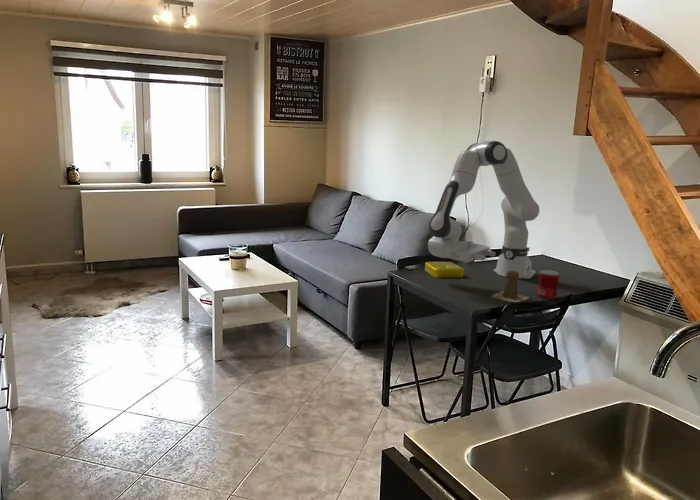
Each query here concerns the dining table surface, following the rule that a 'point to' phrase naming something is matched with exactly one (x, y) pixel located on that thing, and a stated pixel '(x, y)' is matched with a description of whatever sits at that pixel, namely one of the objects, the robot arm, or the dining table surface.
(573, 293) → the dining table surface
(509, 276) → the cork
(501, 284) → the dining table surface
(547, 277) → the canned food
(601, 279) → the dining table surface
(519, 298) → the coaster
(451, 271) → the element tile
